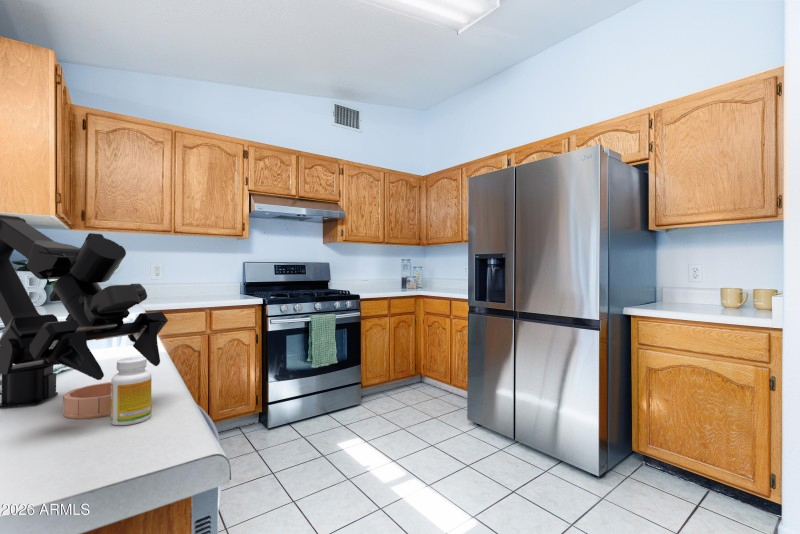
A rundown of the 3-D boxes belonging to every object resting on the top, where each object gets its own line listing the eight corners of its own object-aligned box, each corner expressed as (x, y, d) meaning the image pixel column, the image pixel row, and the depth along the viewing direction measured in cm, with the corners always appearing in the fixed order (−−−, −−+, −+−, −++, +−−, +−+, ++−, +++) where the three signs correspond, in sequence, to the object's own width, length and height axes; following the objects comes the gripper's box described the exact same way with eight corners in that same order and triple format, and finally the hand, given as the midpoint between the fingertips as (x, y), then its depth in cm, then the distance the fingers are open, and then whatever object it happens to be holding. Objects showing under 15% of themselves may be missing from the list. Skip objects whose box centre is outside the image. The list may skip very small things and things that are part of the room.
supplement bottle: (159, 415, 64) (159, 357, 64) (126, 428, 59) (127, 364, 59) (135, 412, 66) (136, 355, 66) (102, 424, 61) (103, 361, 61)
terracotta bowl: (49, 422, 61) (49, 402, 61) (82, 401, 72) (83, 384, 72) (126, 414, 64) (126, 395, 64) (148, 395, 75) (148, 379, 75)
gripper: (41, 267, 56) (92, 347, 52) (160, 268, 73) (205, 328, 69) (8, 320, 58) (55, 401, 54) (131, 309, 76) (173, 369, 72)
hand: (131, 370), depth 62 cm, fingers open, 9 cm apart
